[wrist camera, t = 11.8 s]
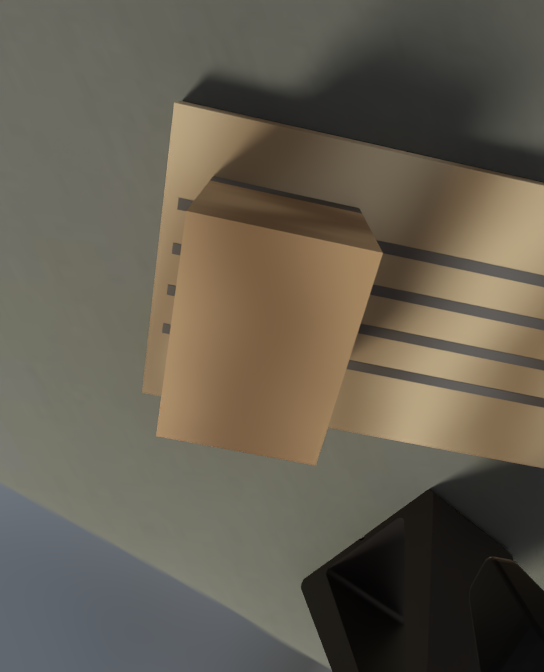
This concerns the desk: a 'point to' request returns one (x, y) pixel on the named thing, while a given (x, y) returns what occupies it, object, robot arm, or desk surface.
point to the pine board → (396, 279)
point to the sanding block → (264, 319)
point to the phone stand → (403, 593)
